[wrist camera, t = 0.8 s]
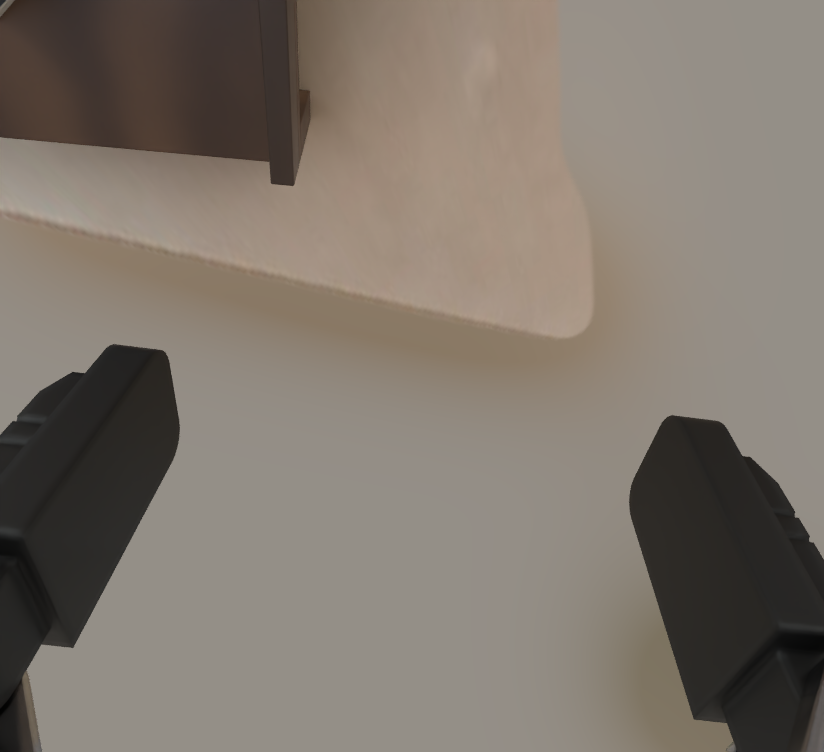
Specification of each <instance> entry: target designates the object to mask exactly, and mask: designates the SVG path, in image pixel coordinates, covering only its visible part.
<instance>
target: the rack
mask: <svg viewBox="0 0 824 752" xmlns="http://www.w3.org/2000/svg"><path fill="white" fill-rule="evenodd" d="M309 123H310V91H305V90H299V67H298V34H297V1H296V0H15V1H14V2H13V3H12V4H11V5H10V6H9V8H8V9H7V10H6V11H5V12H4V13H3V14H2V16H1V17H0V137H3V138H14V139H25V140H36V141H47V142H58V143H69V144H80V145H91V146H102V147H113V148H124V149H135V150H146V151H157V152H168V153H179V154H190V155H201V156H212V157H223V158H234V159H245V160H256V161H267V162H270V177H271V184H278V185H289V186H294V184H295V180H296V176H297V172H298V168H299V163H300V159H301V155H302V151H303V147H304V143H305V139H306V135H307V131H308V127H309Z"/></svg>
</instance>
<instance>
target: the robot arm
mask: <svg viewBox="0 0 824 752" xmlns="http://www.w3.org/2000/svg"><path fill="white" fill-rule="evenodd" d="M17 417H18V418H17V421H16V422H15V421H13V422H12V423H11V424H10V425H9V426H8V427H7V428H6V429H5V430H4V431H3V433H2V434H1V435H0V752H42V748H41V742H40V737H39V732H38V725H37V719H36V714H35V708H34V703H33V696H32V691H31V685H30V679H29V676H28V673H27V671H26V670H27V668H28V666H29V665H30V663H31V661H32V660H33V658H34V656H35V654H36V653H37V651H38V649H39V647H40V646H41V644H43V645H52V646H61V647H71V648H73V647H74V645H75V643H76V641H77V640H78V638H79V636H80V634H81V632H82V630H83V628H84V626H85V625H86V623H87V621H88V619H89V617H90V615H91V613H92V611H93V609H94V608H95V605H96V604H97V601H98V600H99V598H100V596H101V594H102V593H103V591H104V589H105V587H106V585H107V583H108V581H109V579H110V577H111V576H112V574H113V572H114V570H115V568H116V566H117V564H118V562H119V561H120V559H121V557H122V555H123V553H124V551H125V549H126V547H127V545H128V544H129V542H130V540H131V538H132V536H133V534H134V532H135V530H136V529H137V526H138V525H139V523H140V521H141V519H142V517H143V515H144V514H145V512H146V510H147V508H148V506H149V504H150V502H151V500H152V499H153V497H154V495H155V493H156V491H157V489H158V487H159V485H160V484H161V481H162V480H163V478H164V476H165V474H166V472H167V470H168V468H169V467H170V465H171V463H172V461H173V458H174V456H175V453H176V450H177V446H178V441H179V432H180V427H179V426H180V425H179V417H178V411H177V405H176V400H175V394H174V387H173V381H172V375H171V370H170V363H169V360H168V356H167V355H166V353H165V352H164V351H162V350H156V349H148V348H139V347H132V346H123V345H116V344H113V345H110V346H109V347H107V348H106V349H105V350H104V351H103V353H102V354H101V355H100V356H99V358H98V359H97V360H96V361H95V362H94V363H93V364H92V366H91V367H90V368H89V369H88V370H87V372H86V373H76V372H72V373H70V374H68V375H67V376H65V377H63V378H62V379H60V380H58V381H56V382H55V383H53V384H51V385H50V386H48V387H46V388H45V389H43V390H41V391H40V392H39V393H38V394H37V395H36V396H35V397H34V398H33V399H32V401H31V402H30V403H29V404H28V405H27V406H26V407H25V408H24V409H23V410H22V412H21V413H20V414H19V415H18V416H17ZM629 503H630V504H629V505H630V514H631V519H632V522H633V525H634V528H635V532H636V535H637V538H638V541H639V544H640V547H641V551H642V554H643V557H644V560H645V564H646V566H647V570H648V573H649V577H650V580H651V583H652V586H653V589H654V593H655V596H656V599H657V602H658V605H659V609H660V612H661V615H662V618H663V621H664V625H665V628H666V631H667V634H668V638H669V641H670V644H671V647H672V650H673V654H674V657H675V660H676V663H677V666H678V669H679V673H680V676H681V679H682V682H683V685H684V689H685V692H686V695H687V699H688V702H689V705H690V708H691V711H692V715H693V718H694V719H695V720H704V721H713V722H722V723H727V724H728V727H729V729H730V733H731V735H732V738H733V741H734V742H732V743H731V744H730V745H729V747H728V748H727V749H726V751H725V752H824V559H823V558H822V556H821V555H820V553H819V551H818V549H817V548H816V546H815V544H814V543H811V542H809V537H810V536H809V534H808V533H807V531H806V529H805V528H804V526H803V524H802V523H801V521H800V519H799V518H795V515H794V514H795V511H794V509H793V508H792V506H791V504H790V503H789V501H788V499H787V498H786V496H785V494H784V493H783V491H782V489H781V488H780V486H779V484H778V483H777V482H776V481H775V480H774V479H773V478H772V477H771V476H770V475H768V473H766V472H765V471H764V470H763V469H762V468H761V467H760V466H759V465H758V464H757V463H756V462H755V461H754V460H752V458H751V457H745V456H742V455H741V453H740V451H739V450H738V448H737V446H736V444H735V442H734V440H733V439H732V437H731V435H730V433H729V432H728V430H727V428H726V427H725V425H723V424H722V423H721V422H719V421H713V420H705V419H696V418H689V417H680V416H673V415H672V416H669V417H667V418H666V419H665V420H664V421H663V422H662V424H661V426H660V427H659V430H658V432H657V434H656V435H655V437H654V440H653V441H652V444H651V445H650V447H649V450H648V451H647V453H646V455H645V457H644V459H643V461H642V463H641V465H640V467H639V469H638V471H637V473H636V475H635V477H634V480H633V482H632V485H631V490H630V499H629Z"/></svg>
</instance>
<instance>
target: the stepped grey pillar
mask: <svg viewBox="0 0 824 752" xmlns="http://www.w3.org/2000/svg"><path fill="white" fill-rule="evenodd" d="M14 1H15V0H0V17H1V16H2V14H3V13H4V12H5V11H6V10H7V9H8V8H9V6H10V5H11V4H12V3H13V2H14Z"/></svg>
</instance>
